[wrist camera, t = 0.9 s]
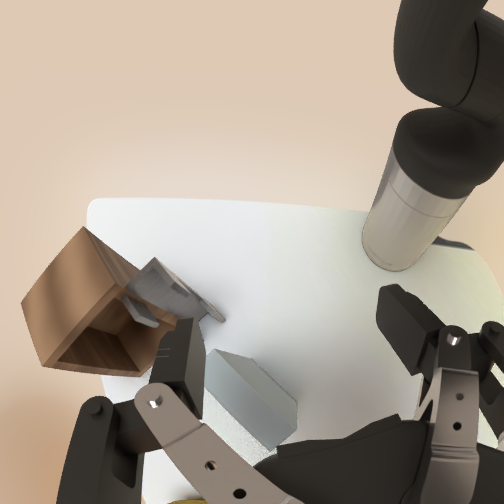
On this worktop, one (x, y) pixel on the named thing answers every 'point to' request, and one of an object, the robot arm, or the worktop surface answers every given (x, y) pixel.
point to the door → (251, 397)
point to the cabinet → (91, 313)
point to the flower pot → (190, 502)
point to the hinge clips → (164, 296)
